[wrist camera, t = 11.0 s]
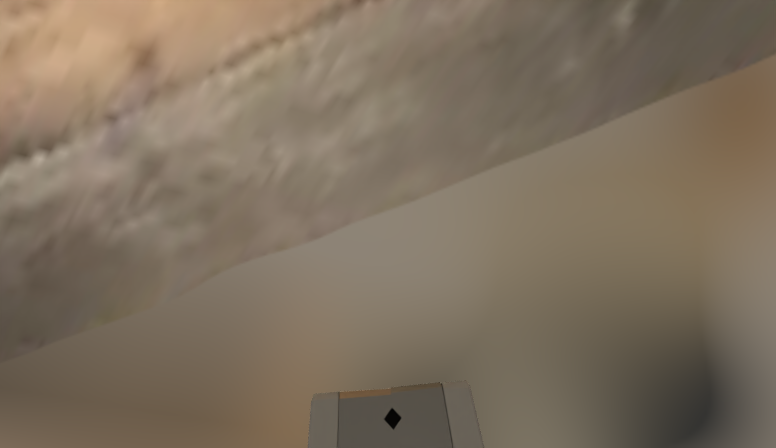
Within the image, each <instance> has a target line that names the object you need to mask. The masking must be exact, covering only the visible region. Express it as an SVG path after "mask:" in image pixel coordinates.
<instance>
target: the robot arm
mask: <svg viewBox="0 0 776 448" xmlns="http://www.w3.org/2000/svg"><path fill="white" fill-rule="evenodd" d="M308 448H484V444H483V440H482V436H481V431H480V427H479V423H478V419H477V414H476V410H475V406H474V401H473V397H472V393H471V389H470V385H469V384H468V382H467V381H466V380H464V381H456V382H445V383H440V382H438V383H428V384H418V385H409V386H400V387H391V388H389V389H374V390H361V391H360V390H359V391H344V392H330V393H319V394H314V395H313V398H312V401H311V411H310V424H309V437H308Z"/></svg>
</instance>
